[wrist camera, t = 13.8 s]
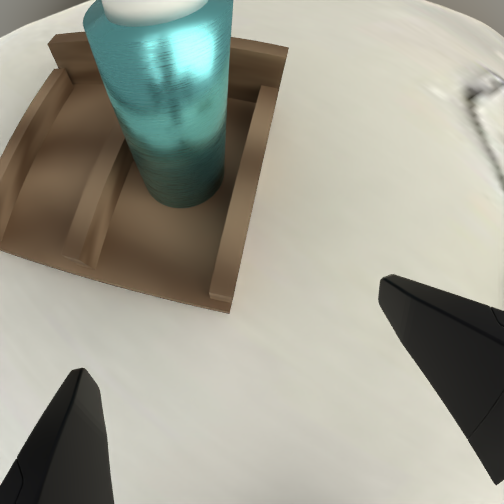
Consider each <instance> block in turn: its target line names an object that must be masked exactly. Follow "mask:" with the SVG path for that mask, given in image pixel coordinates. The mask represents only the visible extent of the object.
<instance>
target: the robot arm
mask: <svg viewBox="0 0 504 504" xmlns="http://www.w3.org/2000/svg"><path fill="white" fill-rule="evenodd" d="M378 301H379V305H380V307H381V309H382V310H383V312H384V314H385V315H386V317H387V319H388V320H389V322H390V324H391V326H392V327H393V329H394V331H395V332H396V334H397V336H398V338H399V339H400V341H401V343H402V344H403V345H404V347H405V348H406V350H407V351H408V353H409V354H410V355H411V357H412V358H413V359H414V361H415V362H416V364H417V365H418V366H419V368H420V369H421V371H422V372H423V374H424V375H425V376H426V378H427V379H428V381H429V382H430V384H431V385H432V387H433V388H434V389H435V391H436V392H437V394H438V395H439V397H440V398H441V400H442V401H443V403H444V404H445V406H446V407H447V409H448V410H449V412H450V413H451V415H452V416H453V418H454V419H455V421H456V422H457V424H458V425H459V427H460V428H461V430H462V432H463V433H464V435H465V436H466V438H467V439H468V441H469V443H470V444H471V446H472V448H473V449H474V451H475V452H476V454H477V456H478V457H479V459H480V461H481V462H482V464H483V466H484V467H485V469H486V471H487V472H488V474H489V476H490V477H491V479H492V481H493V482H494V484H495V485H497V484H499V483H500V482H501V481H503V480H504V311H502V310H499V309H496V308H494V307H490V306H488V305H485V304H482V303H479V302H476V301H473V300H470V299H467V298H464V297H461V296H458V295H455V294H452V293H449V292H446V291H443V290H440V289H437V288H434V287H431V286H428V285H425V284H422V283H419V282H416V281H413V280H410V279H407V278H404V277H400V276H397V275H394V274H391V275H388V276H386V277H383V278H382V279H381V280H380V287H379V297H378ZM0 504H114V498H113V490H112V483H111V474H110V464H109V454H108V442H107V433H106V427H105V421H104V415H103V409H102V402H101V394H100V390H99V387H98V385H97V384H96V382H95V381H94V380H93V378H92V377H91V375H90V374H89V373H88V371H87V370H86V369H85V368H79V369H74V370H72V371H71V372H70V373H69V375H68V376H67V378H66V379H65V381H64V382H63V384H62V385H61V387H60V388H59V390H58V391H57V393H56V394H55V396H54V397H53V399H52V400H51V402H50V403H49V405H48V407H47V408H46V410H45V411H44V413H43V414H42V416H41V418H40V419H39V421H38V423H37V424H36V426H35V427H34V429H33V431H32V432H31V434H30V436H29V437H28V439H27V441H26V442H25V444H24V446H23V447H22V449H21V451H20V453H19V454H18V456H17V459H15V461H14V463H13V465H12V466H11V468H10V470H9V472H8V473H7V475H6V477H5V478H4V480H3V482H2V483H1V485H0Z"/></svg>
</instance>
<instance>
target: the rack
mask: <svg viewBox="0 0 504 504" xmlns="http://www.w3.org/2000/svg"><path fill="white" fill-rule="evenodd" d="M48 46H49V48H50V50H51V53H52V55H53V57H54V59H55V61H56V63H57V66H58V68H59V69H54V70H53V71H52V73H51V74H50V75H49V77H48V78H47V80H46V81H45V83H44V84H43V86H42V87H41V89H40V90H39V92H38V93H37V95H36V96H35V98H34V99H33V101H32V102H31V104H30V106H29V107H28V109H27V110H26V112H25V114H24V115H23V117H22V119H21V121H20V122H19V124H18V126H17V128H16V129H15V131H14V133H13V135H12V137H11V139H10V140H9V142H8V144H7V146H6V148H5V150H4V152H3V154H2V156H1V158H0V250H1V251H4V252H6V253H9V254H12V255H15V256H18V257H21V258H24V259H27V260H30V261H33V262H37V263H40V264H43V265H46V266H49V267H52V268H56V269H59V270H62V271H65V272H69V273H72V274H75V275H79V276H82V277H85V278H89V279H92V280H96V281H99V282H103V283H107V284H110V285H114V286H117V287H121V288H125V289H129V290H132V291H136V292H140V293H144V294H148V295H152V296H156V297H160V298H164V299H168V300H172V301H176V302H180V303H184V304H188V305H193V306H197V307H201V308H206V309H210V310H215V311H219V312H224V313H228V314H229V313H230V308H231V304H232V300H233V296H234V291H235V286H236V282H237V277H238V272H239V268H240V263H241V258H242V254H243V249H244V244H245V240H246V235H247V231H248V226H249V221H250V217H251V212H252V208H253V203H254V199H255V194H256V189H257V185H258V180H259V176H260V171H261V167H262V162H263V158H264V153H265V149H266V144H267V140H268V135H269V131H270V127H271V122H272V118H273V113H274V109H275V104H276V100H277V96H278V91H279V87H280V82H281V78H282V74H283V70H284V66H285V62H286V57H287V53H288V49H289V48H288V47H283V46H279V45H274V44H269V43H264V42H258V41H253V40H247V39H241V38H234V37H231V41H230V57H229V75H228V95H227V117H226V141H225V170H224V178H223V181H222V184H221V186H220V188H219V189H218V191H217V192H216V193H215V194H214V195H213V196H212V197H211V198H210V199H208V200H207V201H205V202H204V203H202V204H199V205H197V206H194V207H190V208H172V207H168V206H166V205H163V204H161V203H159V202H158V201H157V200H155V199H154V198H153V197H152V196H151V194H150V193H149V192H148V190H147V188H146V185H145V183H144V181H143V179H142V176H141V174H140V172H139V170H138V167H137V165H136V163H135V160H134V158H133V156H132V153H131V151H130V149H129V146H128V144H127V141H126V139H125V137H124V134H123V132H122V129H121V127H120V124H119V122H118V119H117V117H116V114H115V112H114V109H113V107H112V104H111V102H110V99H109V96H108V94H107V91H106V89H105V86H104V83H103V81H102V78H101V75H100V73H99V70H98V67H97V64H96V61H95V59H94V56H93V53H92V50H91V47H90V44H89V41H88V38H87V36H86V33H85V32H75V33H65V34H56V35H55V36H54V37H53V38H52V39H51V41H50V42H49V43H48Z"/></svg>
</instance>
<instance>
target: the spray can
mask: <svg viewBox="0 0 504 504" xmlns="http://www.w3.org/2000/svg"><path fill="white" fill-rule="evenodd" d="M232 11H233V0H96V1H95V2H94V3H93V4H92V5H91V6H90V8H89V9H88V10H87V12H86V14H85V16H84V19H83V26H84V30H85V33H86V36H87V38H88V41H89V44H90V47H91V50H92V53H93V56H94V59H95V61H96V64H97V67H98V70H99V73H100V75H101V78H102V81H103V83H104V86H105V89H106V91H107V94H108V96H109V99H110V102H111V104H112V107H113V109H114V112H115V114H116V117H117V119H118V122H119V124H120V127H121V129H122V132H123V134H124V137H125V139H126V141H127V144H128V146H129V149H130V151H131V153H132V156H133V158H134V160H135V163H136V165H137V167H138V170H139V172H140V174H141V176H142V179H143V181H144V183H145V185H146V188H147V190H148V192H149V193H150V194H151V196H152V197H153V198H154V199H155V200H157V201H158V202H159V203H161V204H163V205H166V206H168V207H172V208H190V207H194V206H197V205H199V204H202V203H204V202H205V201H207V200H208V199H210V198H211V197H212V196H213V195H214V194H215V193H216V192H217V191H218V189H219V188H220V186H221V184H222V181H223V178H224V170H225V141H226V117H227V95H228V75H229V57H230V41H231V25H232Z"/></svg>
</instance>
